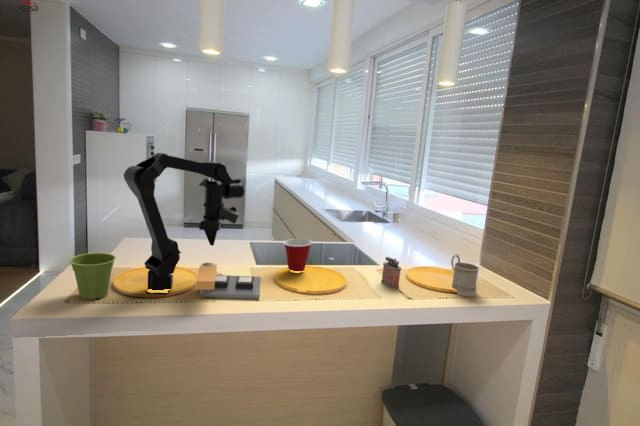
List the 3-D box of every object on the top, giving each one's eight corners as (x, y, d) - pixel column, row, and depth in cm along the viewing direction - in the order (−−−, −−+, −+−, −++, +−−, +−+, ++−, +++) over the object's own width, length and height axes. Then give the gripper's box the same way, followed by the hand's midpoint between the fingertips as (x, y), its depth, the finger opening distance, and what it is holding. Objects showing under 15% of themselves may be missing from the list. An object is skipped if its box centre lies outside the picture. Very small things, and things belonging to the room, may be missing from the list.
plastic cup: (281, 266, 164) (283, 236, 162) (308, 267, 165) (310, 238, 163) (281, 275, 153) (283, 243, 151) (310, 276, 154) (313, 245, 152)
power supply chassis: (198, 297, 127) (199, 282, 126) (207, 278, 143) (207, 265, 142) (259, 299, 129) (260, 284, 128) (260, 280, 145) (261, 267, 145)
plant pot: (73, 289, 125) (72, 253, 123) (117, 287, 129) (117, 252, 127) (66, 305, 114) (65, 265, 112) (114, 301, 119) (114, 263, 117)
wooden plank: (200, 269, 136) (200, 262, 135) (216, 270, 137) (216, 262, 136) (196, 289, 119) (196, 281, 118) (214, 289, 120) (214, 281, 119)
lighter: (401, 287, 150) (404, 261, 149) (394, 289, 148) (397, 262, 147) (385, 280, 157) (388, 255, 155) (379, 281, 155) (381, 255, 153)
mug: (483, 296, 148) (488, 264, 146) (458, 296, 146) (463, 263, 144) (460, 282, 162) (464, 252, 160) (437, 282, 160) (441, 252, 158)
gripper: (236, 205, 131) (233, 253, 133) (240, 197, 149) (238, 239, 151) (199, 203, 129) (198, 252, 132) (208, 195, 147) (206, 238, 150)
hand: (212, 245), depth 141 cm, fingers closed
